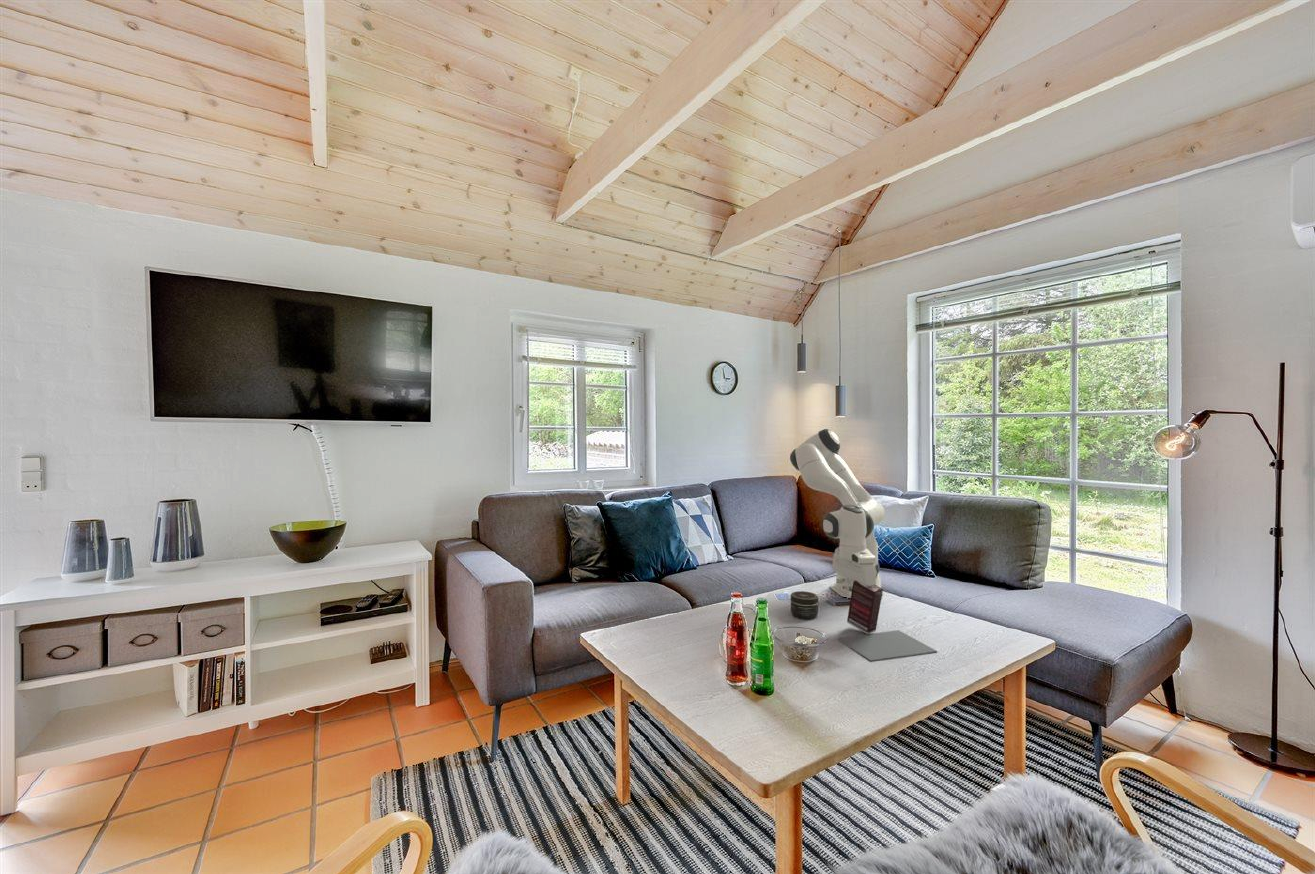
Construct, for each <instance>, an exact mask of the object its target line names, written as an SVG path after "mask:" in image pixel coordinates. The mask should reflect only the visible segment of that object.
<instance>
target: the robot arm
mask: <svg viewBox="0 0 1315 874" xmlns="http://www.w3.org/2000/svg"><path fill="white" fill-rule="evenodd" d="M840 449H841V441H840V438H839V437H838V435H837V434H836V433H835V432H834V431H833V430H831V429H829V428H825V429H824V428H823V429H822V430H819V431H818V432H817V433H815V434H813V435H812V436H810V437H808V438H807V439H806V440H805V441H804V442H802V443H801V444H800V445H798V446H797V447H796V448H794V449H793V450H792V451H791V453H790V456H789V460H790V463H791V465H792V466H793V467H794V468H795V469H796V470H797V471H799V473H800V475H801V477H802V480H803V482H804V483H805V485H806V486H807V487H809V488H810V489H812V490H814V491H818V492H822V493H825V494H826V493H827V494H829V495H832V496H834V497H835V498H836V499H837V500H839V501H840V503H841V504H842V506H841V507H840V509H839V510H834V511H830V512H827V513H826V514H825V515H824V516H823V518H822V522H821V523H822V524H821V526H822V531H823V533H824V534H825V535H826V536H827V537H829V538H831V539H839V546H838V547H836V548H835V550H834V554H833V555H832V571H833V572H834V573H836V577H835V578H836V579H835V583H832V584H830V585H829V588H830V589H831V590H833V591H834V592H836V594H837V595H839V596H840V595H841V597H842V596H843V597H847V598H846V599H848V598H851V593H852V587H853V581H855V580H856V581H857V582H859V583H860V584H861V585H863V586H865V587H871V586H874V585H876V586H878V587H880V588H882V580H881V575H880V574H879V573H880V562H879V544H878V542H877V540H876V537H875V536H876V535H875V531H874V529H875V528H874V527H875V526H877V525H879V524H880V523H881V522H882V521H883V519H884V517H885V514H886V513H885V508H884V506H883V505H882V504H881V503H880V502H879V501H876V499H874V498H873V496H872V495H871V494H870V493H869V492H868V491H867V490H866V489H865V488H864V487H863V485H861V483H860V482H859V480H858V479H857V478H856V476H855V475H854V473H853V471H852V470H851V468H850V467H849V466H848V463H846V462H845V461H844V459H843V458H842V457H841V455H839V454H840ZM882 596H884V591H883V592H882ZM843 597H842V598H843ZM882 598H883V597H882ZM882 598H881V600H882Z"/></svg>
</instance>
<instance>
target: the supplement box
mask: <svg viewBox="0 0 1315 874" xmlns="http://www.w3.org/2000/svg"><path fill="white" fill-rule="evenodd" d="M882 592H883V593H884V588H882V587H881V588H880V587H878V586H876V585H874V586H871V587H865V586H863V585H861V584H860V583H859V582H857V581H856V580H855V581H853V587H852V593H851V599H850V600H849V608H848V612H847V613H848V614H847V621H846V622H847V624H849V625H851V626H852V627H854V628H855V629H858V630H860V631H861V632H863V634H864V633H865V634H872V633H875V632H876V630H877V626H878V622H879V621H878V620H879V613H880V608H881V604H882V599H881V598H883V595H882Z"/></svg>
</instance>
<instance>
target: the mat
mask: <svg viewBox="0 0 1315 874" xmlns="http://www.w3.org/2000/svg"><path fill="white" fill-rule="evenodd" d="M836 640H838V641H839V642H840V643H842V644H844V645H845V646H847V647H848V648H850V649H851V650H852V651H855V652H856V653H857V654H859V655H861V657H863V658H865V660H868V661H869V662H878V661H884V660H890V659H892V660H893V659H899V658H905V657H907V658H908V657H913V656H919V655H929V654H934V653H938V650H936V649H934V648H932V647H931V646H929V645H927V644H925V643H923V642H921V641H919V640H917V639H916V638H914V637H912V636H910V635H908V634H906V633H905V632H903V631H900V630H899V629H897V630H891V631H883V632H882V631H881V632H872V633H870V634H866V633H865V634H864V633H863V634H857V635H856V634H855V635H849V636H848V635H847V636H841V637H837V638H836Z"/></svg>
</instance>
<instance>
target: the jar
mask: <svg viewBox="0 0 1315 874" xmlns="http://www.w3.org/2000/svg"><path fill="white" fill-rule="evenodd" d="M790 613H791V615H792V616H793V617H794V618H796V619H799V620H807V621H809V620H814V619H816V618H817V617H818V614H819V595H817V594H816V593H813V592H810V591H806V590H805V591H802V590H800V591H799V590H798V591H793V592H792V593H790Z"/></svg>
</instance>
